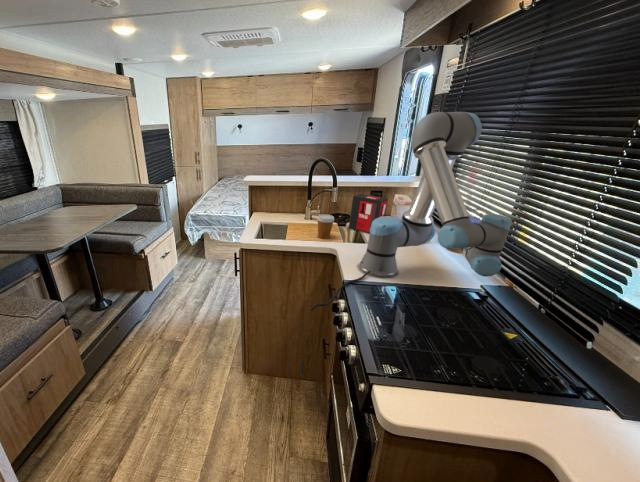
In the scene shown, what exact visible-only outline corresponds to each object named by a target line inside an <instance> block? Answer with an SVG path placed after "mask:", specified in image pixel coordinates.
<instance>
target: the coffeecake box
mask: <svg viewBox="0 0 640 482" xmlns="http://www.w3.org/2000/svg"><path fill="white" fill-rule="evenodd" d="M412 201H413V199H411V198H410V197H409V195H408V194H400V193H395V194H394V197H393V203H392V207H391V212H390V217H397V218H400V219H402V216H403V214H404V212H406V211H408V210H409V209H410V206H411V204H412Z"/></svg>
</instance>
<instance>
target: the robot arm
mask: <svg viewBox="0 0 640 482" xmlns="http://www.w3.org/2000/svg"><path fill="white" fill-rule="evenodd" d="M482 125H483V124H482V122H481V120H480V117H479V116H478V115H477V114H475V113H473V112H467V111H434V112H431V113H429V114H426V115H425V116H423V117H422V118H420V119H419V120H418V122H417V123H416V125H415V126H414V128H413V130H412V133H411V141H410V142H411V150H412V153H413V156H414V158H415V159H418V160H419V162H420V166H421V168H422V171H423V172H422V175H421V178H420V180H419V183H418V186H417V189H416V191H415V194H414V196H413V198H412V203H411V206H410V209H409V210H408V211H406V212H404V214H403V216H402V219H400V218H397V217H391V216H386V215H385V217H379V218H377V219H375V220H374V221H373V222H372V225H371V228H370V234H369V236H368V240H367V247H366V251H365V253H364V255H363V257H362V258H361V260H360V262H359V269H360V270H361V271H362V272H363V273H364V274H363V275H362V276H361V277H358V278H355V279H352V280H349V281H346V282H345V283H343V284H342V285H341V286H339V287H338V288H337V290H336V291H335V293H334V295H333V296H332V297H331V299H329V300H328V301H327V302H325V303H323V302H322V303H316V304H314V305H313V306H312V307H311V308H310V309H309V311H311V312H313V311H314V310H315V309H316V308H317V307H326V306H328V305H330V304H331V303H332V302H333V301H334V300H335V299H336V297H337V296H338V295H339V293H340V292H341V290H342V289H343V288H344V287H346V286H348V285H349V284H352V283H355V282H359V281H361V280H364V279H365V278H366V277H367V276H368V275H370V276H372V277H378V278H391V277H394V276H396V275H397V272H398V266H397V258H396V255H397V251H398V248H405V247H418V246H423V245H426V244H428V243H430V242H431V241H432V239H433V238H434V236H435V233H436V228H435V227H436V225H435V222H434V220H435V219H434V218H433V216H432V215H433V213H434V211H435V209H436V212H437V214H438V215H437V216H438V218H439V220H440V224H441V228H440V229H439V230H438V232H437V242H438V244H439V245H440V246H441V247H442V248H444V249H446V250H447V249H460V250H461V252H462V253H463V254H462V255H463V257H464V258H465V260H466V261H467V262H468V264H469V266H470V268H471V269H472V270H473V271H474V273H475V274H476V275H479V276H481V277H492V276H495V275H497V274H498V273H499V272H500V271H501V270H502V267H503V264H502V262H501V259H500V257H501V254H502V251H503V248H504V247H505V243H506V242H507V241H506V240H507V238H508V236H509V233H510V232H511V231H510V229H511V227H512V223H513V221H512V220H513V219H511V218H510V217H509V216H506V215H503V214H496V213H487V214H484V215H483V216H482V218H481V220H480V221H481V223H471V220H470V218H471V217H470V216H469V213H468V210H467V207H466V205H465V202H464V199H463V196H462V194H461V191H460V189H459V185H458V183H457V180H456V178H455V177H456V176H455V175H454V172H453V167H454V165H455V163H456V160H457V159H459V158H460V157H463V156H464V154H465V151H467V150H466V149H467V148H468V147H471V146H473V145H474V144H475V143H477V141H478V140H479V138H480V137H481V134H482V131H483V129H482V128H483V126H482ZM304 368H305V361H304V359H302V360H301V366H300V374H301V375H303V374H304Z"/></svg>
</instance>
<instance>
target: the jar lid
mask: <svg viewBox="0 0 640 482" xmlns="http://www.w3.org/2000/svg"><path fill="white" fill-rule="evenodd" d="M469 218H470V220H471V223H481V220H479V219H476V218H473V217H469Z"/></svg>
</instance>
